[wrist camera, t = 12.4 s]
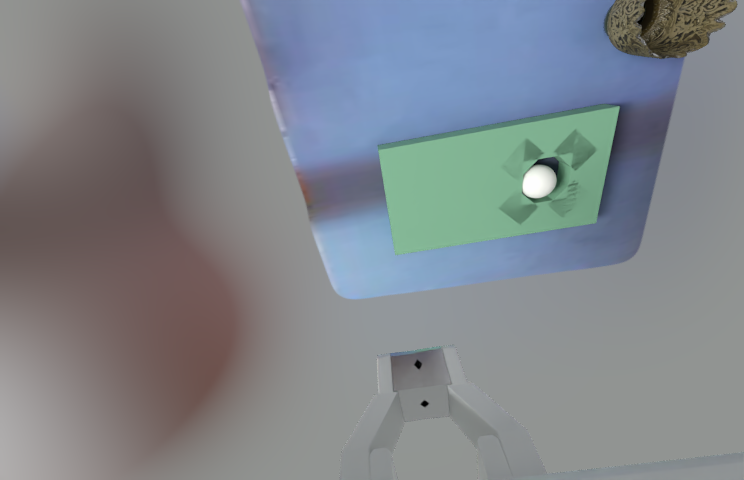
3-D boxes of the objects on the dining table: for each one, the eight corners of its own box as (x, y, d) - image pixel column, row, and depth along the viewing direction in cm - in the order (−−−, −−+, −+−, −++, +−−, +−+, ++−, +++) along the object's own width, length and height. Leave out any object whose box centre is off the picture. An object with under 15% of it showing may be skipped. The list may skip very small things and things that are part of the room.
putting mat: (377, 145, 36) (378, 150, 34) (603, 103, 35) (619, 106, 32) (393, 245, 43) (395, 255, 41) (583, 214, 41) (595, 223, 39)
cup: (672, -30, 29) (769, -62, 22) (640, 60, 33) (716, 57, 26) (594, -29, 29) (667, -60, 22) (571, 61, 33) (628, 59, 26)
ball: (512, 166, 37) (536, 174, 34) (540, 157, 38) (566, 164, 35) (511, 196, 39) (534, 207, 36) (537, 187, 40) (562, 197, 37)
